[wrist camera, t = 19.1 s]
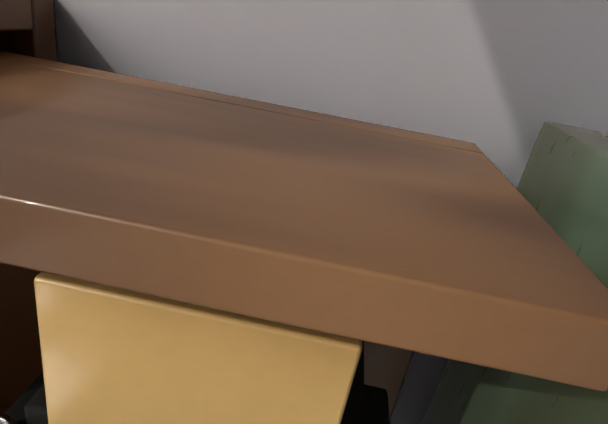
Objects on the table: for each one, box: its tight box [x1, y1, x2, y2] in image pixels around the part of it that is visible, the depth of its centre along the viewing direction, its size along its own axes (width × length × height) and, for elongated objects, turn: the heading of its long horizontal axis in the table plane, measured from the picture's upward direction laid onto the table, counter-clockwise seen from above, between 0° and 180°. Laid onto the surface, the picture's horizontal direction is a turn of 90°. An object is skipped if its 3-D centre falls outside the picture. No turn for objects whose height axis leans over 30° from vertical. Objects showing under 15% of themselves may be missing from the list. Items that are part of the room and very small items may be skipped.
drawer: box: [0, 51, 608, 424], centre depth 9 cm, size 21×13×7 cm, turn 80°
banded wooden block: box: [34, 272, 362, 424], centre depth 9 cm, size 9×4×5 cm, turn 170°
